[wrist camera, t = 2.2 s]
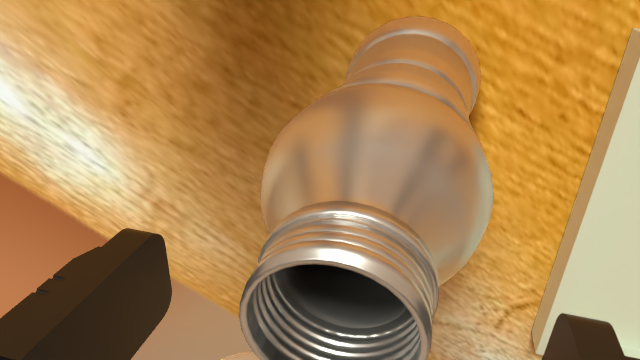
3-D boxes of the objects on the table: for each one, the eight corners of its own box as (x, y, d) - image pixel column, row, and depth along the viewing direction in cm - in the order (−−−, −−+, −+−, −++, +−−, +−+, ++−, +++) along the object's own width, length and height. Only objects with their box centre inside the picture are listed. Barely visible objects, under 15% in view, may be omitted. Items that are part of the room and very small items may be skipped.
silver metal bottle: (490, 108, 26) (557, 453, 8) (374, 137, 28) (245, 446, 11) (463, -10, 23) (481, 135, 6) (339, 33, 26) (110, 220, 9)
